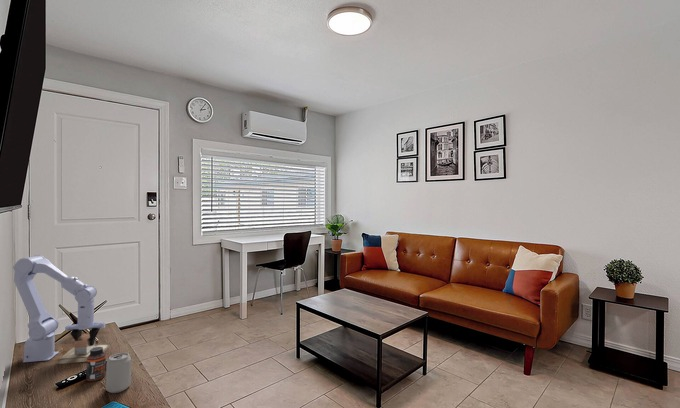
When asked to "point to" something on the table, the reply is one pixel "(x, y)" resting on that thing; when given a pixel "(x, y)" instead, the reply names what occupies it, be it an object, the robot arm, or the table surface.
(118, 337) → the table surface
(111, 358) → the can
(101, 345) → the stand board
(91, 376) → the supplement bottle
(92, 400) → the table surface
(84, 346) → the housing
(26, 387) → the table surface
